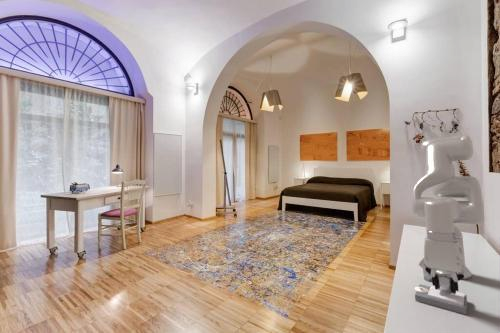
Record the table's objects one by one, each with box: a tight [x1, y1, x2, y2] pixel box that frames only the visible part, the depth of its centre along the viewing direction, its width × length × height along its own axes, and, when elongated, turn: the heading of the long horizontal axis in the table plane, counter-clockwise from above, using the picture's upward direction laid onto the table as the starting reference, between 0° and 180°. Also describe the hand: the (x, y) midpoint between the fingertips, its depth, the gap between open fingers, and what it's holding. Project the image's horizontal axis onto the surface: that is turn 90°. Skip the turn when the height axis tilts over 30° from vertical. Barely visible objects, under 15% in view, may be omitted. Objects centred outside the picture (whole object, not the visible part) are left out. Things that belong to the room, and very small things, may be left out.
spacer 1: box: [422, 268, 432, 283], centre depth 94 cm, size 4×4×5 cm
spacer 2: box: [436, 273, 453, 294], centre depth 78 cm, size 4×4×5 cm
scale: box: [414, 284, 468, 316], centre depth 79 cm, size 10×14×3 cm
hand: (445, 289), depth 78 cm, fingers closed on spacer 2, 4 cm apart
